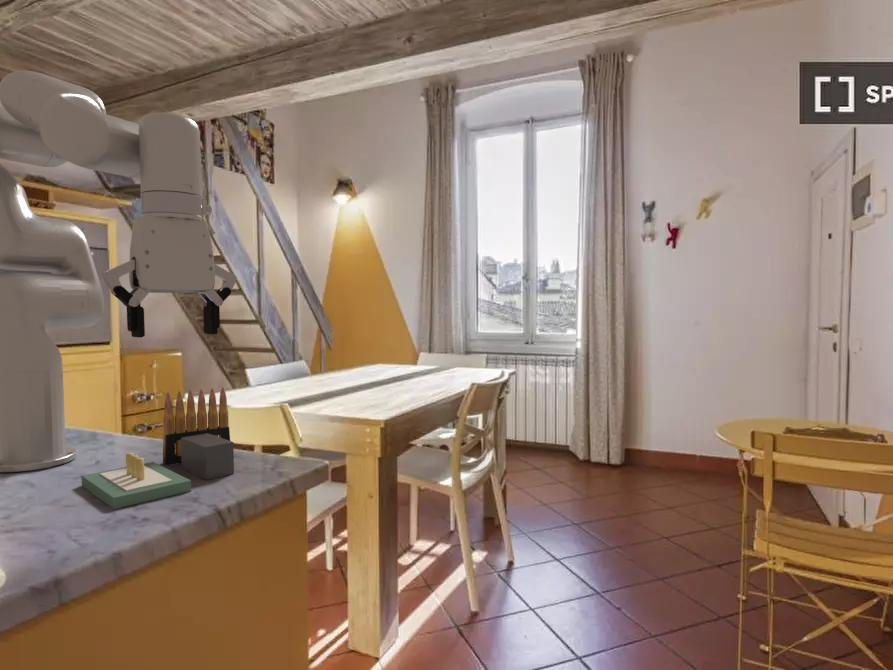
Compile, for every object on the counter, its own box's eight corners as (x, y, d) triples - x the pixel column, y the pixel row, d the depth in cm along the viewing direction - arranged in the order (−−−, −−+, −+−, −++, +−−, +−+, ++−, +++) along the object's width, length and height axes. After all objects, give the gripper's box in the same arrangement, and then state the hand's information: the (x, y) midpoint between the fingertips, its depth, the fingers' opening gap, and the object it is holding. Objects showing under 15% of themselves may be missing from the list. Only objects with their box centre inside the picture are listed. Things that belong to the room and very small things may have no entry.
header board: (81, 485, 85) (80, 454, 85) (153, 471, 93) (152, 442, 92) (114, 509, 76) (112, 473, 75) (191, 490, 83) (190, 458, 83)
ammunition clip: (165, 465, 96) (163, 393, 95) (162, 463, 97) (160, 392, 97) (231, 455, 102) (229, 387, 102) (228, 453, 104) (226, 386, 103)
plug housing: (181, 468, 94) (180, 437, 94) (208, 462, 98) (207, 433, 97) (206, 479, 88) (205, 447, 88) (233, 473, 91) (233, 442, 91)
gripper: (222, 218, 88) (225, 332, 89) (92, 205, 76) (97, 337, 77) (245, 213, 83) (248, 333, 84) (109, 198, 70) (114, 339, 71)
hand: (175, 335), depth 80 cm, fingers open, 9 cm apart
